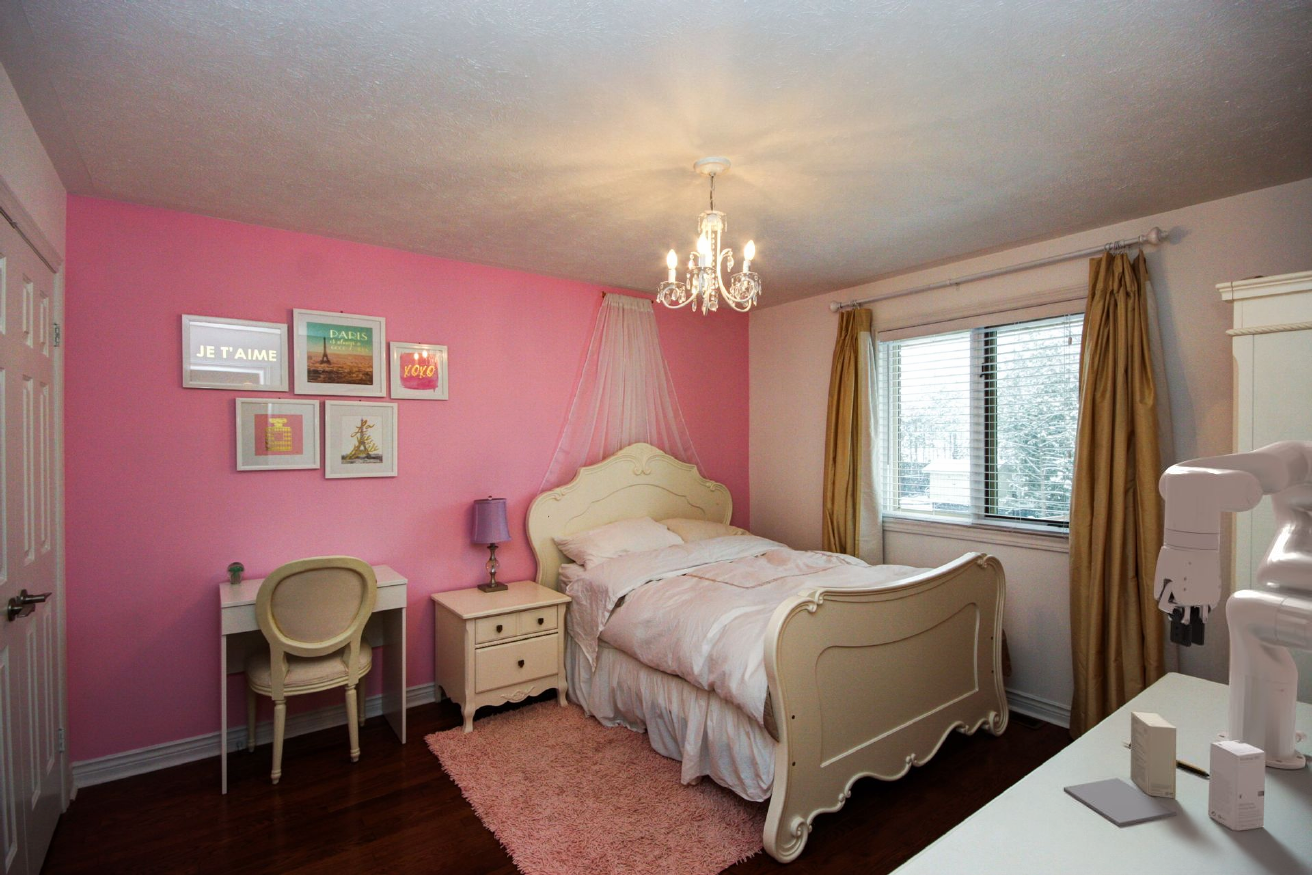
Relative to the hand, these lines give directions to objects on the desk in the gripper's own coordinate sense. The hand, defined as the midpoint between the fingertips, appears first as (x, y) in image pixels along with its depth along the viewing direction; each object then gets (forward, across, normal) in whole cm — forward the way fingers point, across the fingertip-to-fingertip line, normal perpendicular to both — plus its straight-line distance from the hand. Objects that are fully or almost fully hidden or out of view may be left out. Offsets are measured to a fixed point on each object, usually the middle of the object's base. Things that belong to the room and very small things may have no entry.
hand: (1186, 642), depth 113 cm
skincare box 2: (+25, +3, +10) cm, 28 cm away
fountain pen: (+26, -4, -6) cm, 27 cm away
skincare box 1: (+25, +7, 0) cm, 26 cm away
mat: (+25, +17, +2) cm, 30 cm away
